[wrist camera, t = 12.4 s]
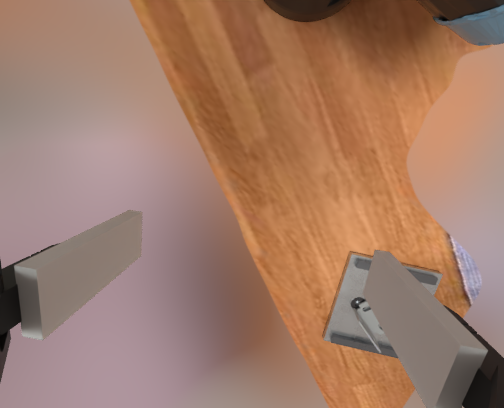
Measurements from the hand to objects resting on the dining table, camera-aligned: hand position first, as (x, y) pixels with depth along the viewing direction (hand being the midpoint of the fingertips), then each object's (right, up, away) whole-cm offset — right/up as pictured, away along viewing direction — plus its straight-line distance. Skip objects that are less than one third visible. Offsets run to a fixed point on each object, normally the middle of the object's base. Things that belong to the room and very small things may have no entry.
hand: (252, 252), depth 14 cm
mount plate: (+20, -14, +27) cm, 37 cm away
